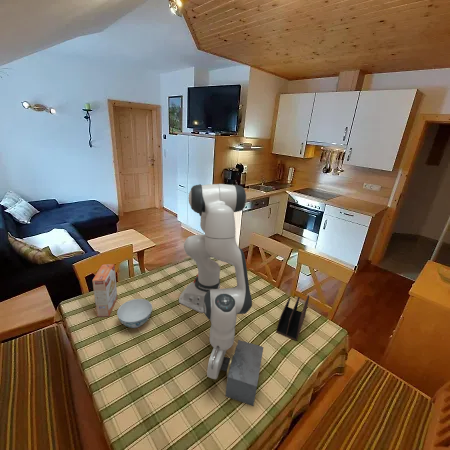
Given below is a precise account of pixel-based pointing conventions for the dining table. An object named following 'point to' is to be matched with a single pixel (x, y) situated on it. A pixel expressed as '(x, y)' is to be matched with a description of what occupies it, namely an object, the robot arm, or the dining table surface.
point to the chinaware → (134, 312)
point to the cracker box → (105, 290)
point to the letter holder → (291, 320)
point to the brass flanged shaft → (226, 364)
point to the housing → (244, 372)
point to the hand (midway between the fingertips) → (219, 363)
